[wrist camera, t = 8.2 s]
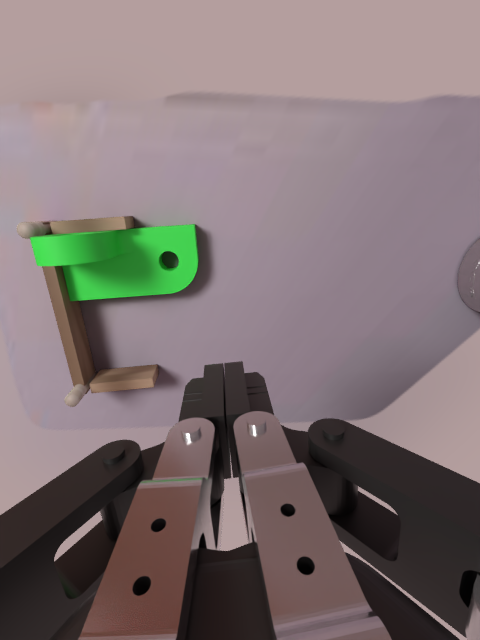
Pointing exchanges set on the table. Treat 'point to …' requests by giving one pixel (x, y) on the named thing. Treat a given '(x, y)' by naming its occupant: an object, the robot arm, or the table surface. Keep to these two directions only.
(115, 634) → the robot arm
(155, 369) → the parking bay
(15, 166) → the table surface
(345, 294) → the table surface
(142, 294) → the mechanical part
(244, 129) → the table surface
